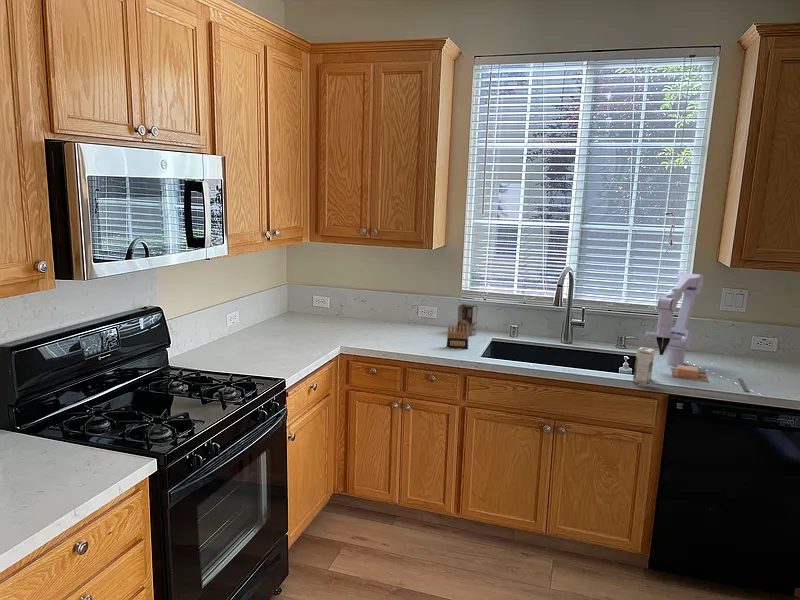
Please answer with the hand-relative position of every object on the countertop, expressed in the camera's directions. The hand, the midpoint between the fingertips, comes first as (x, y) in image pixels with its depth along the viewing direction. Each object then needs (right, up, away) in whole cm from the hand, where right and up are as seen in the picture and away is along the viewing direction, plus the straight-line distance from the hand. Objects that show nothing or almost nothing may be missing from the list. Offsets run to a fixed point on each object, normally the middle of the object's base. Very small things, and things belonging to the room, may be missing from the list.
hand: (661, 354), depth 256 cm
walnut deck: (+11, -10, -3) cm, 15 cm away
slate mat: (+24, -12, -8) cm, 28 cm away
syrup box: (-13, -11, -10) cm, 20 cm away
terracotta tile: (+10, -9, -3) cm, 13 cm away
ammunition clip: (-87, 0, +35) cm, 93 cm away
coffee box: (-78, +5, +65) cm, 102 cm away
